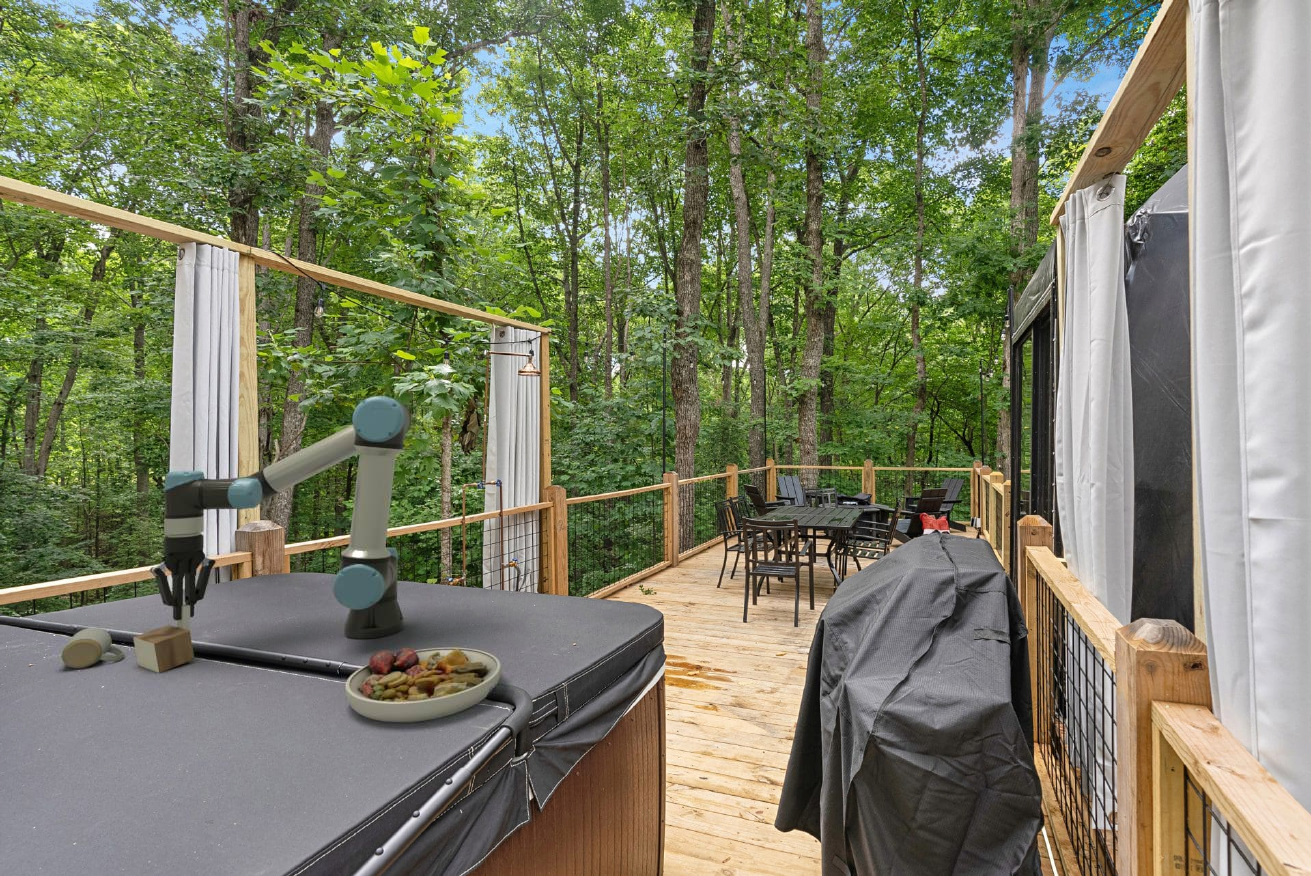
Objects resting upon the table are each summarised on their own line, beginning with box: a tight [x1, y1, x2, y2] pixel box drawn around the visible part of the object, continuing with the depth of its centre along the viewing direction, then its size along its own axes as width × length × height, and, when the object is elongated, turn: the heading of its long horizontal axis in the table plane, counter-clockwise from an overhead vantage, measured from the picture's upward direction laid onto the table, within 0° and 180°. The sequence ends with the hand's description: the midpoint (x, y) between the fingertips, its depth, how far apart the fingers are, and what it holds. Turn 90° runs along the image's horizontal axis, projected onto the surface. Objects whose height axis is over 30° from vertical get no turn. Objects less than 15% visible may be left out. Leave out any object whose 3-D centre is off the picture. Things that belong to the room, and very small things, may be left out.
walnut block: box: [132, 624, 195, 674], centre depth 140 cm, size 10×7×7 cm
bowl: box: [344, 647, 502, 723], centre depth 124 cm, size 30×30×8 cm
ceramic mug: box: [61, 627, 126, 669], centre depth 142 cm, size 11×8×8 cm
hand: (183, 632), depth 144 cm, fingers closed
